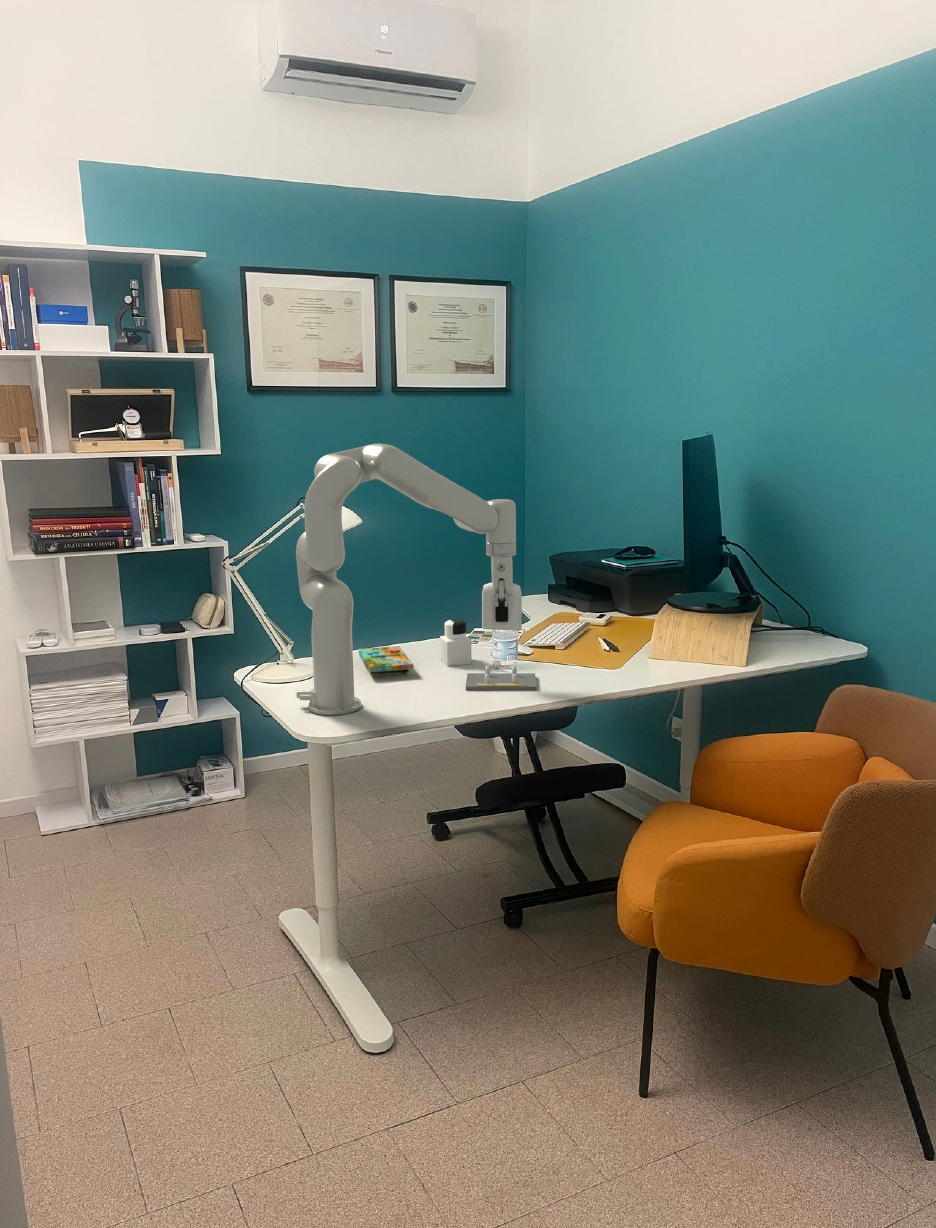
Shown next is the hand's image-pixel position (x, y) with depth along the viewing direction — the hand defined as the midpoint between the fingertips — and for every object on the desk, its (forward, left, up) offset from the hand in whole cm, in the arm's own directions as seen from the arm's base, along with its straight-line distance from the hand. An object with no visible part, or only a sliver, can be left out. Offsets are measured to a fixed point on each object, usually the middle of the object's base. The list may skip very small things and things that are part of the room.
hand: (501, 618), depth 241 cm
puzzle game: (-32, +14, -18) cm, 39 cm away
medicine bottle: (-13, +20, -18) cm, 30 cm away
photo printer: (0, 0, -3) cm, 3 cm away
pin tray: (0, 0, -17) cm, 17 cm away
